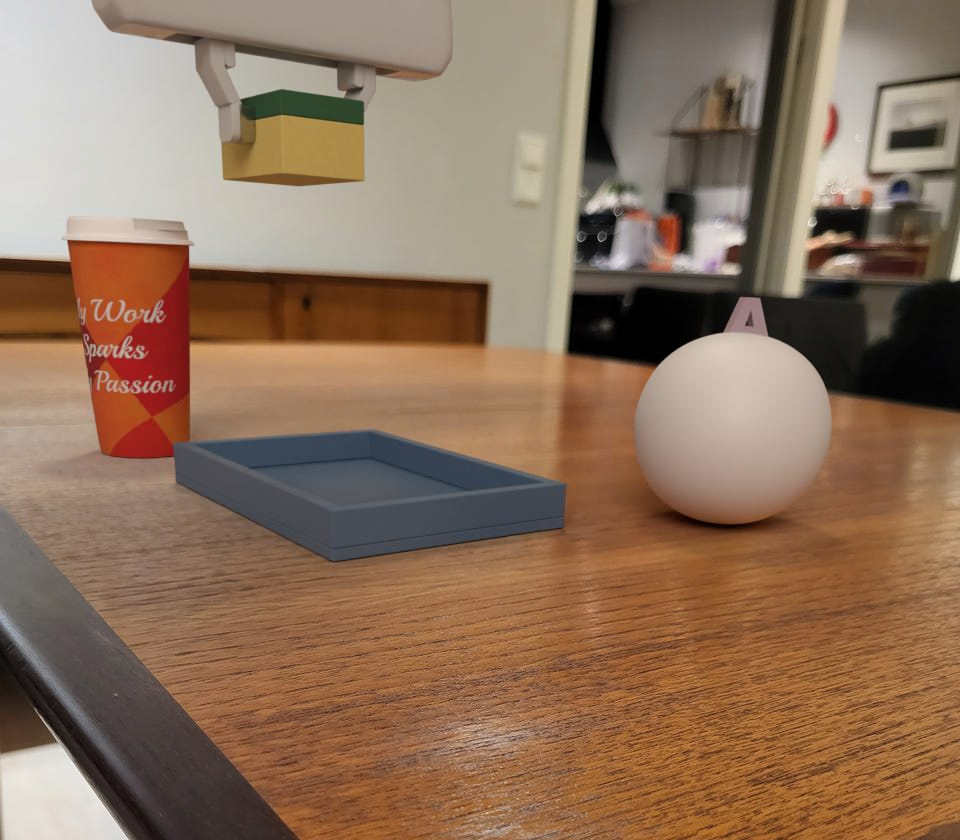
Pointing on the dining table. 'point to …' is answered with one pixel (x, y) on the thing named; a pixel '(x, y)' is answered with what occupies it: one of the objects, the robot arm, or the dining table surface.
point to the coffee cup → (134, 330)
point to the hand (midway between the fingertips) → (290, 149)
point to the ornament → (733, 424)
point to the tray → (367, 491)
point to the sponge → (300, 141)
